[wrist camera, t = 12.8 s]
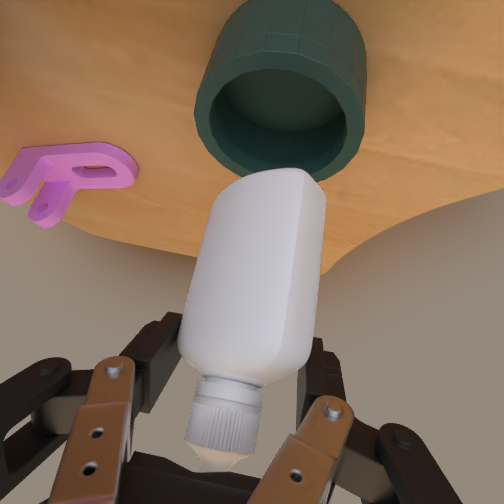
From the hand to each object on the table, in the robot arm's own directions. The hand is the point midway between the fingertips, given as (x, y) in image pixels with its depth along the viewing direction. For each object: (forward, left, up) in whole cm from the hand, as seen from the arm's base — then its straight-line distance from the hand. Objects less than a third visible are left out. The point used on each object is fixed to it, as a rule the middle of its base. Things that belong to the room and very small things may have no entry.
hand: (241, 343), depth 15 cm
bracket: (-22, -14, -20) cm, 33 cm away
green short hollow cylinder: (0, -1, -19) cm, 19 cm away
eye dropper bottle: (0, +2, -7) cm, 7 cm away
